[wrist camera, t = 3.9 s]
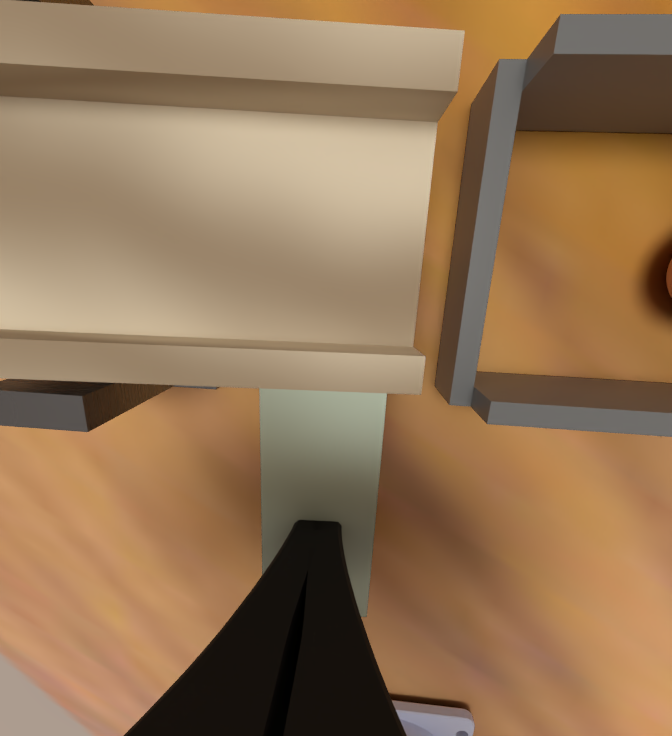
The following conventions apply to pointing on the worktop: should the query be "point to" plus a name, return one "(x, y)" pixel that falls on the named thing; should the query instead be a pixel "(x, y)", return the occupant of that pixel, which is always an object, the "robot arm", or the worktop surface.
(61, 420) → the pivot stand
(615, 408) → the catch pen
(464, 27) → the worktop surface
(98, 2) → the worktop surface
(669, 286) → the ball
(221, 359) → the lever
